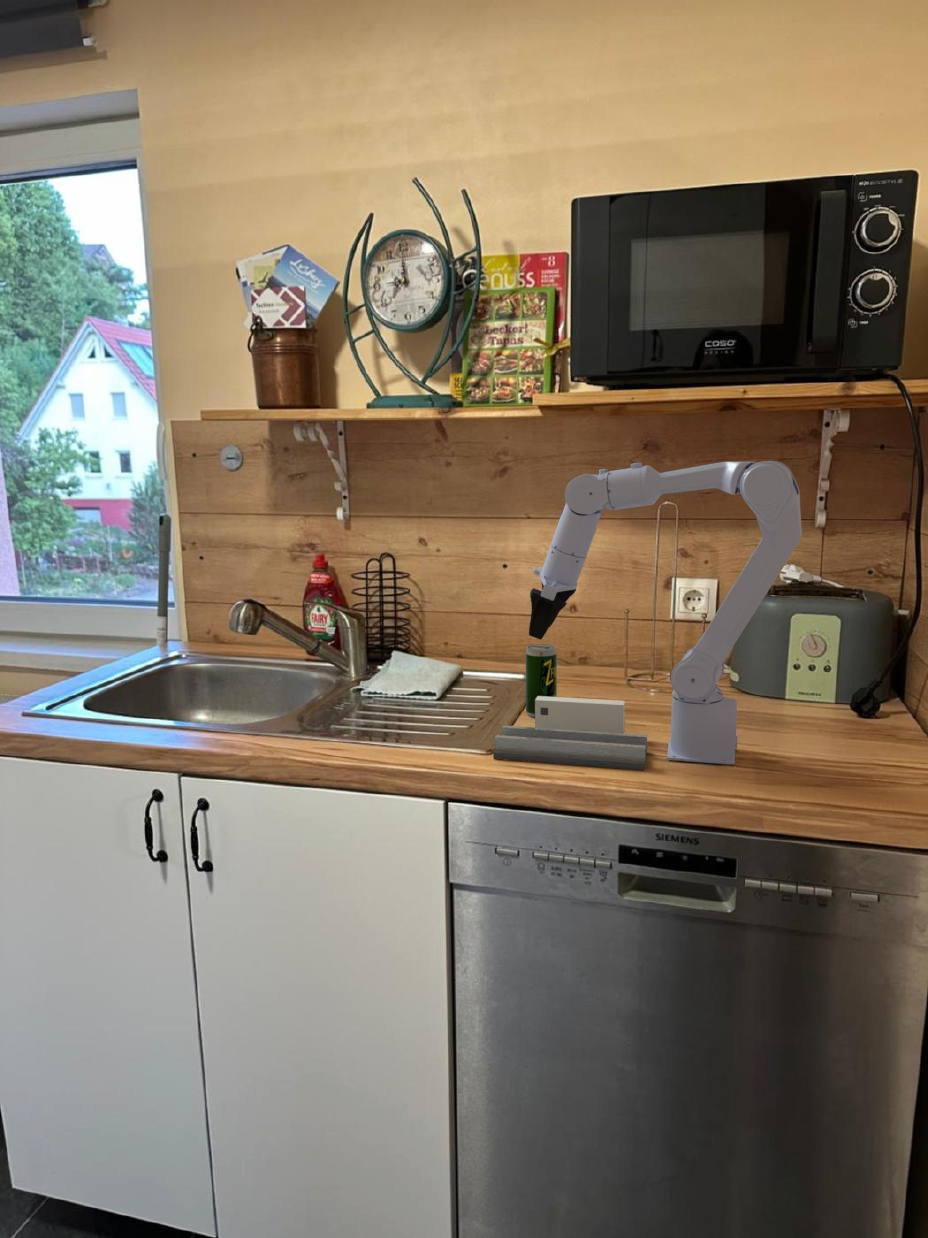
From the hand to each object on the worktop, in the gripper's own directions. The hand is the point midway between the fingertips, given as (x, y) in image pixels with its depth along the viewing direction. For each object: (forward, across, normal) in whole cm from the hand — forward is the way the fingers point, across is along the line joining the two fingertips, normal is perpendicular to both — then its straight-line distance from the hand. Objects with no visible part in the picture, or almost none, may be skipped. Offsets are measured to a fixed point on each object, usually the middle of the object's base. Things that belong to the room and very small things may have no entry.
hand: (539, 630), depth 131 cm
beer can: (+18, -10, +4) cm, 21 cm away
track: (+14, +9, +12) cm, 20 cm away
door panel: (+14, 0, +12) cm, 18 cm away
